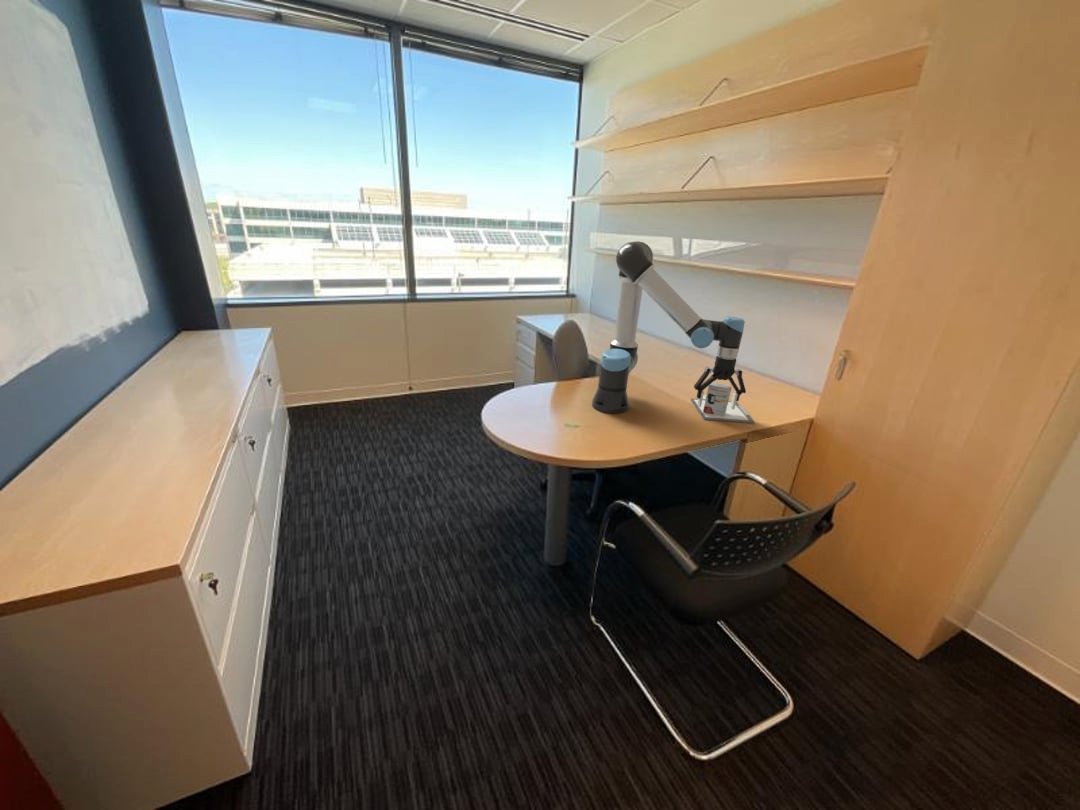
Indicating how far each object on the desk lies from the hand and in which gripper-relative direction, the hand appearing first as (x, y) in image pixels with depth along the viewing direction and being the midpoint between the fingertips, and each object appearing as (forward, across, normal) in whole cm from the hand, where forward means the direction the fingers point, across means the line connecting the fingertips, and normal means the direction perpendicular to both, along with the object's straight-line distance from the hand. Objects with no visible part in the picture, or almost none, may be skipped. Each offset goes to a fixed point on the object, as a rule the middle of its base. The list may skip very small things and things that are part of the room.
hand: (715, 406), depth 182 cm
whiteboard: (+3, +4, +4) cm, 7 cm away
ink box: (+3, 0, 0) cm, 3 cm away
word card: (+3, +4, +19) cm, 20 cm away
